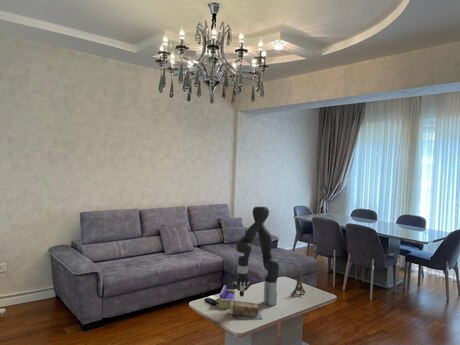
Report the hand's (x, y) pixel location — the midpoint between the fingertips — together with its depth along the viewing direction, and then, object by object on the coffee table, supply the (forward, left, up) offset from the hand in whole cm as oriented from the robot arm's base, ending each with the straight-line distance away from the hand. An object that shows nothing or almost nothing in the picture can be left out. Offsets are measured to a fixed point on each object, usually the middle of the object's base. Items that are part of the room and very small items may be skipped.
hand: (241, 296), depth 239 cm
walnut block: (+7, 0, -8) cm, 10 cm away
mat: (-5, 0, -13) cm, 14 cm away
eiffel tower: (-54, -39, -13) cm, 68 cm away
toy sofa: (+8, -20, -13) cm, 26 cm away
